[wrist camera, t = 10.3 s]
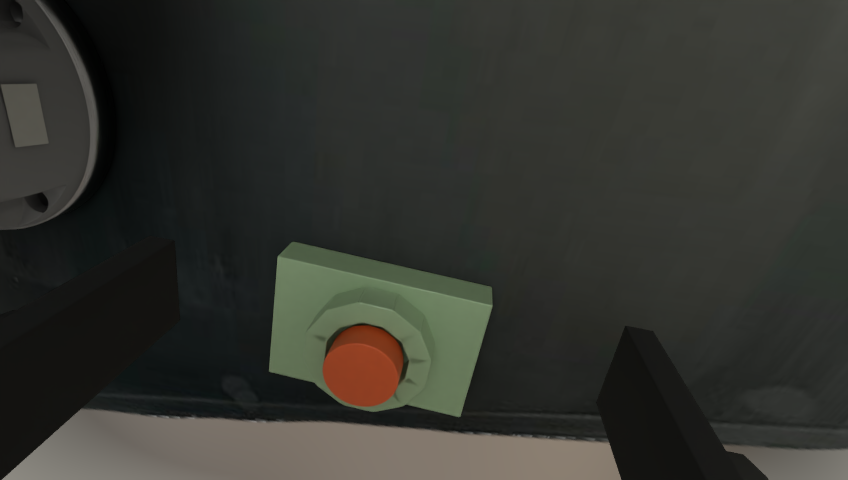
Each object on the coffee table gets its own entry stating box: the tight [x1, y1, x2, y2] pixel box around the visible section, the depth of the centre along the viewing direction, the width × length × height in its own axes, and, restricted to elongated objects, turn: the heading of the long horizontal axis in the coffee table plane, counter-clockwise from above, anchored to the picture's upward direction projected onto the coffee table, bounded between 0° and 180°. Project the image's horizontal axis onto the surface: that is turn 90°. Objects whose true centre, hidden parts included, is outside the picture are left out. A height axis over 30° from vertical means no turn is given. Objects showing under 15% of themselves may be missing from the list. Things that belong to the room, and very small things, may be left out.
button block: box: [269, 242, 493, 417], centre depth 27 cm, size 12×8×4 cm, turn 79°
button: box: [322, 325, 404, 407], centre depth 25 cm, size 4×4×2 cm
